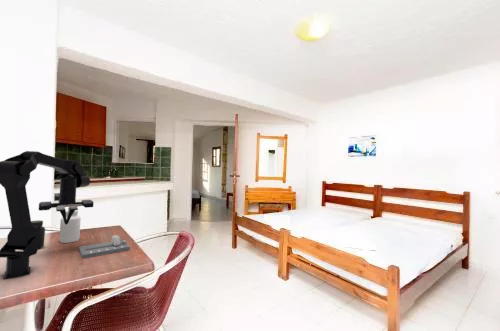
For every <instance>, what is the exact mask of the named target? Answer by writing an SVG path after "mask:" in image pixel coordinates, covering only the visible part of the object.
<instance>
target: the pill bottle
mask: <svg viewBox="0 0 500 331" xmlns="http://www.w3.org/2000/svg"><path fill="white" fill-rule="evenodd" d="M78 210H79V209H78ZM78 210H75V211H74V213H73V214H72V216H71V218H70V220H69V222H68V224H66V225H65V223H64V220H63V217H62V216H61V218H60V223H59V225H60V226H59V227H60V228H59V239H58V240H59V243H61V244H67V243H74V242H75V243H76V242H78V241H79V240H80V235H81V234H80V233H81V216H80V215H78V213H79V211H78ZM67 214H68V209H66V219H67Z"/></svg>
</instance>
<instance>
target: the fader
mask: <svg viewBox="0 0 500 331" xmlns="http://www.w3.org/2000/svg"><path fill="white" fill-rule="evenodd" d="M120 240H121V237H120V236H119V235H118V234H115V235H111V241H112V242H111V241H110V242H111V243H112V244H113V245H114V246H117V245H120Z"/></svg>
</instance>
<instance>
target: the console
mask: <svg viewBox="0 0 500 331" xmlns="http://www.w3.org/2000/svg"><path fill="white" fill-rule="evenodd" d="M111 242H112V240H111V241H108V242H102V243H96V244H95V243H94V244H88V245H82V246H79V247H78V251H79V254H80V255H81V257H82V259H88V258H94V257H99V256H103V255H104V256H105V255H110V254H116V253H121V252H125V251H126V250H127V251H131V246H130V245H129V244H128V243H127V241H126V240H125V239H120V245H117V246H114V245H113V244H112V243H111ZM127 251H126V252H127Z"/></svg>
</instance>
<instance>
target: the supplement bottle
mask: <svg viewBox="0 0 500 331" xmlns="http://www.w3.org/2000/svg"><path fill="white" fill-rule="evenodd" d="M31 223H32V225H33V226H39V227H40V229H41V235H42V237H41V242H40V245H39V247H38V250H40V249H43V248H44V247H45V236H46V227H45V226H44V221H43V220H31Z"/></svg>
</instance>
